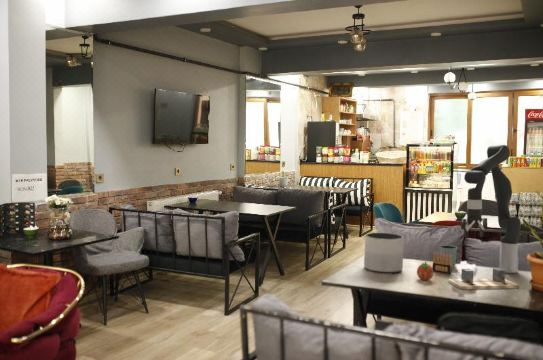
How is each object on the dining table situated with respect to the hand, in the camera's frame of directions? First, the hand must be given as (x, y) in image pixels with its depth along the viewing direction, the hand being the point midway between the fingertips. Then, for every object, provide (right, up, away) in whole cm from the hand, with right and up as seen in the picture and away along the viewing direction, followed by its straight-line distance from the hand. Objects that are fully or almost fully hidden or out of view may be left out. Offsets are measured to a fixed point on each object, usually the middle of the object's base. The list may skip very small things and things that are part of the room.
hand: (474, 237), depth 284 cm
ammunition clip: (-12, -23, +18) cm, 31 cm away
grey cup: (-3, -22, +34) cm, 41 cm away
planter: (-45, -22, +23) cm, 54 cm away
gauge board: (+2, -25, -7) cm, 26 cm away
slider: (-6, -22, -8) cm, 25 cm away
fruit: (-27, -24, +1) cm, 36 cm away
